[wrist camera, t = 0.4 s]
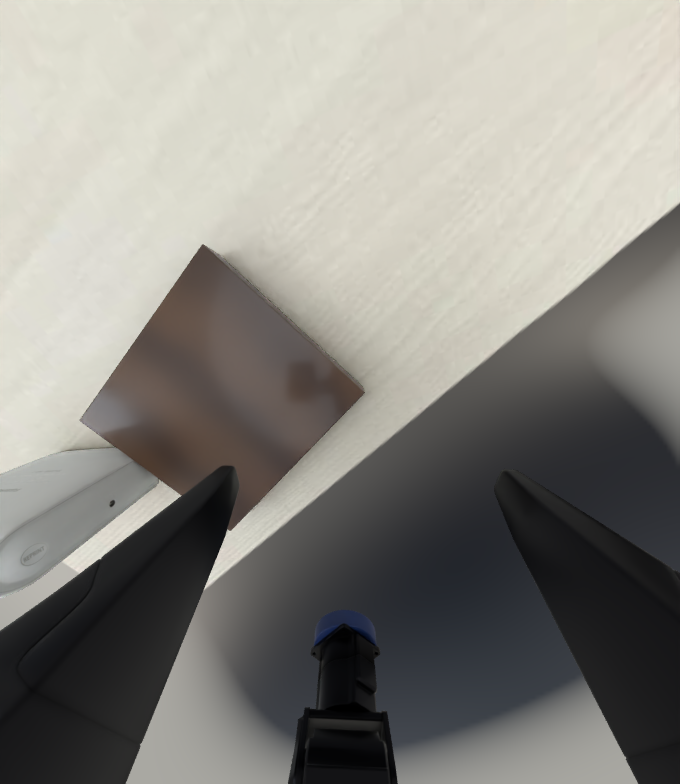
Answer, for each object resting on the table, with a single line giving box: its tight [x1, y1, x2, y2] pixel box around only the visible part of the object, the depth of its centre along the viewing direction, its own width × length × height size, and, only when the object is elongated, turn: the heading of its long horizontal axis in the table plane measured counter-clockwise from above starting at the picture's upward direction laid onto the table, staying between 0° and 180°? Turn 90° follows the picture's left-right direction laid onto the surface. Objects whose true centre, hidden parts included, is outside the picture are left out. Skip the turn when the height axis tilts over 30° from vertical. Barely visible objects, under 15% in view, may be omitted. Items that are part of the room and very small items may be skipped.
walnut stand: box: [80, 245, 365, 531], centre depth 20 cm, size 17×15×2 cm
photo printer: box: [0, 448, 159, 598], centre depth 17 cm, size 10×4×12 cm, turn 93°
